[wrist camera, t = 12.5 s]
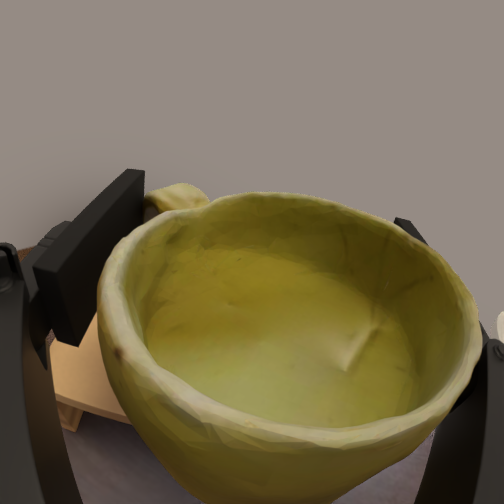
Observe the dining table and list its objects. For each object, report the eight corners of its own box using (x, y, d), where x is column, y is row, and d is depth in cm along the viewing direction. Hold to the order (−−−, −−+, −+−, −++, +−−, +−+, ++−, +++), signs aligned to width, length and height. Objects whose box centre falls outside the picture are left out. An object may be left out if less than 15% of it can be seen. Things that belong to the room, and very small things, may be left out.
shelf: (246, 351, 29) (261, 298, 25) (239, 470, 19) (256, 439, 15) (107, 324, 28) (97, 268, 24) (63, 428, 18) (31, 383, 14)
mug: (457, 427, 9) (557, 215, 4) (248, 574, 6) (46, 576, 1) (301, 294, 19) (274, 131, 14) (148, 372, 16) (58, 214, 11)
